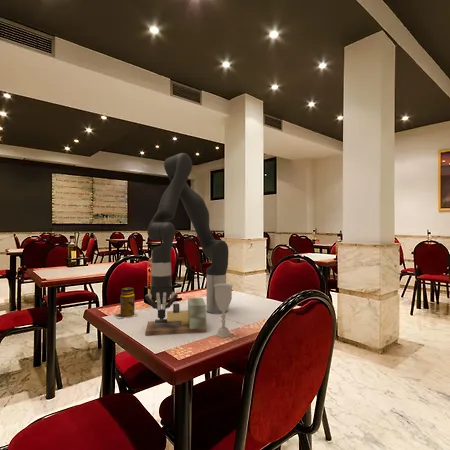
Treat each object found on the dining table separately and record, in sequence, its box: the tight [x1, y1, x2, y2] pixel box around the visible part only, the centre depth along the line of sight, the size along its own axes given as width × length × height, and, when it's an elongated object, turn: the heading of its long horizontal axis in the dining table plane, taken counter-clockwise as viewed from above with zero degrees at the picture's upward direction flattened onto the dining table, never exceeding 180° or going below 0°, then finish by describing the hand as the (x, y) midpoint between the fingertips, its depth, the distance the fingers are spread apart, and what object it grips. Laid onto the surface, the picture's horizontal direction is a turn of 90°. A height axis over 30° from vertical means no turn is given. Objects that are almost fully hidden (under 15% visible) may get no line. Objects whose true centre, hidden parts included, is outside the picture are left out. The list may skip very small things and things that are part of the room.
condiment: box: [113, 287, 138, 320], centre depth 137 cm, size 7×8×12 cm
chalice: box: [214, 283, 234, 338], centre depth 112 cm, size 7×7×18 cm
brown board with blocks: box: [144, 297, 207, 337], centre depth 119 cm, size 22×12×10 cm, turn 100°
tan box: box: [166, 302, 189, 325], centre depth 119 cm, size 10×3×8 cm, turn 100°
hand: (161, 319), depth 118 cm, fingers closed
